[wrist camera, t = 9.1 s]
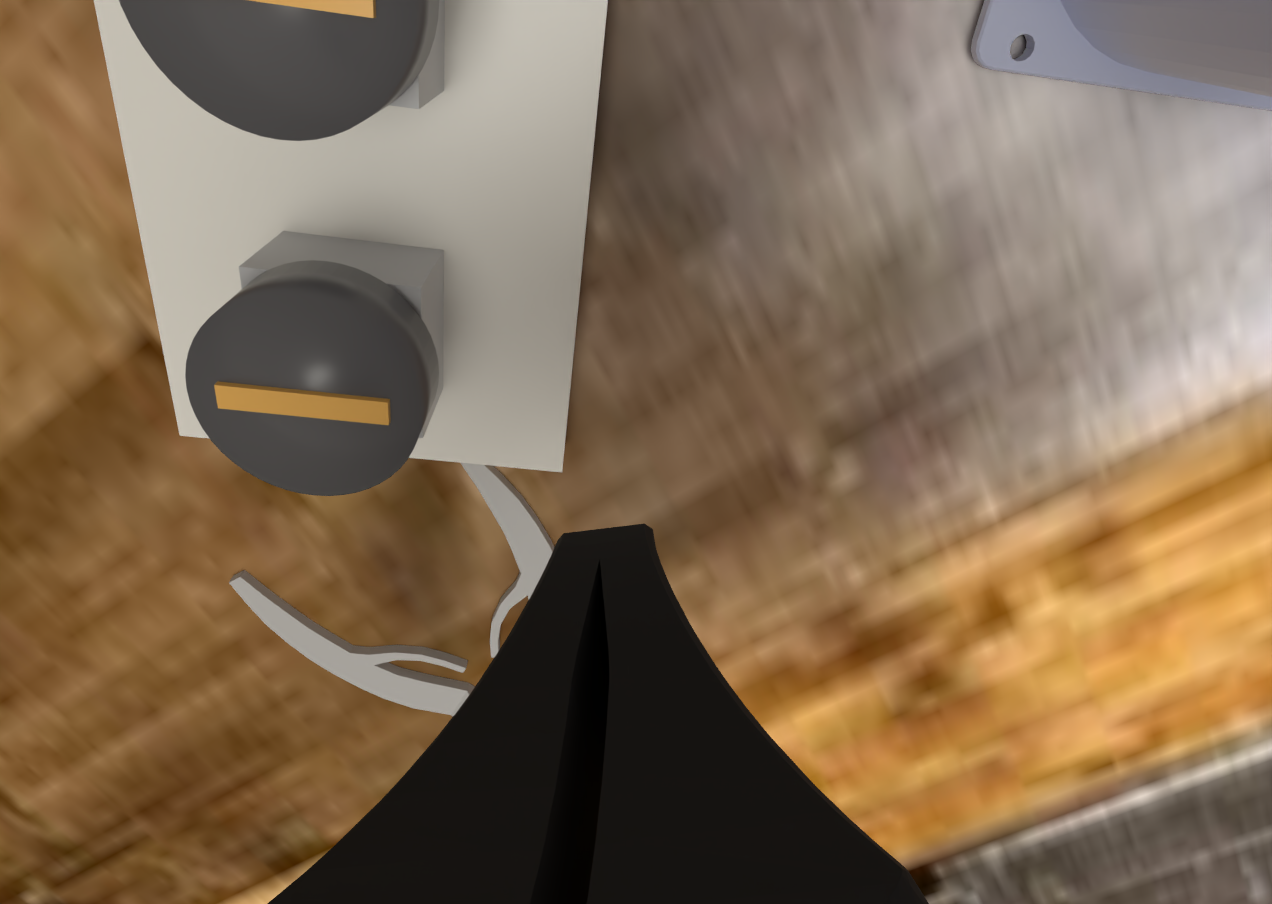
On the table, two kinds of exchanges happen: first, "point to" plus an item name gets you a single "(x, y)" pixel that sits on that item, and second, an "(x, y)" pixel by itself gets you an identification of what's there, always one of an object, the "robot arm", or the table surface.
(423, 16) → the knob middle
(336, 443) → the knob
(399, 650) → the pliers
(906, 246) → the table surface
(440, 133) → the knob mount
